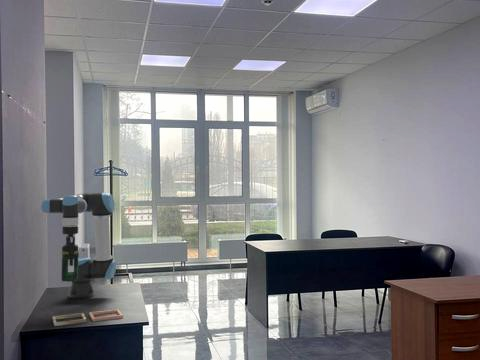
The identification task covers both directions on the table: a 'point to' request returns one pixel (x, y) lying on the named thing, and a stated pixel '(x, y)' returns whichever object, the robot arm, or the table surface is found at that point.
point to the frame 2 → (106, 316)
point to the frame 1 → (69, 317)
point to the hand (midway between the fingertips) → (70, 270)
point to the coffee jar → (65, 274)
